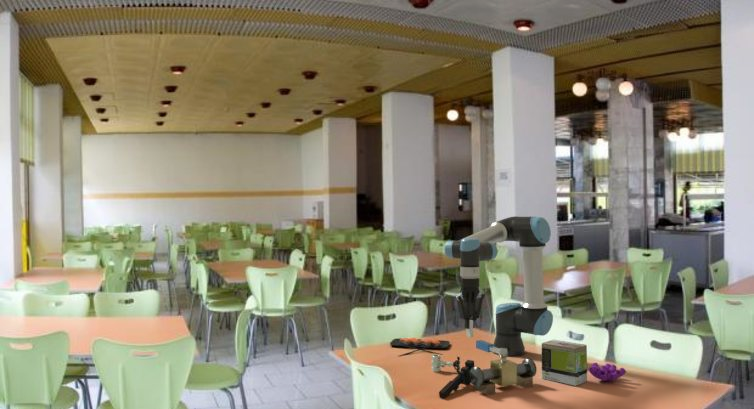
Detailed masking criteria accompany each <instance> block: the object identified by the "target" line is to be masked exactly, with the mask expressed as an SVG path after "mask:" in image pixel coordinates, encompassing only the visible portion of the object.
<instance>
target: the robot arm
mask: <svg viewBox="0 0 754 409" xmlns="http://www.w3.org/2000/svg"><path fill="white" fill-rule="evenodd" d="M551 232H552V231H551V226H550V224H549V222H548V221H547V220H546V218H544V217H541V216H510V217H505V218H503V219H500V220H498V221H495V222H492V223H491V224H490V226H489V227H487V228H484V229H482V230H480V231H478V232H475V233H472V234H471V235H468V236H466V237H463V238H462V239H459V240H449V241H448V240H447V242H446V243H445V244H444V255H445V257H447V258H450V259H453V260H460V267H459V268H460V270H459V272H460V273H459V276H460V279H459V280H460V283H459V284H460V290H459V293H458V294H457V295H456V294H455V296H454V298H455V300H456V304H457V306H458V312H459V317H460V319H461V320H463V321H464V328H465V329H466V331H465V334H466V335H465V337H467V338H474V329H475V326H476V324H475V323H476V321H477V319H479V318H480V315H481V311H482V305H483V300H484V298H485V294H483V293H481V292H480V288H479V287H480V278H479V277H480V262H486V261H487V262H488V261H492V260H495V259H496V257H498V251H499V250H498V247H497V245H496V243H503V242H516V243H517V242H519V248H520V249H521V250H522V261H523V263H522V264H523V266H522V267H523V291H524V292H523V295H524V297H523V298H524V301H523V302H522V304H521V303H520V302H506V303H501V304H497V305H496V307H495V337H494V341H493V343H492V344H493V346H494V347H496V348H499V349H500V348H506V349H507V357H517V356H522V355H524V354H526V348H525V345H524V342H523V338H522V333H523V334H528V335H529V334H530V335H534V336H542V337H543V336H546V335H547V334H548V333H549V332H550V331H551V328H552V326H553V324H554V322H553V321H554V315H553V313H552V311H551V310H548V304H546V302H545V300H544V299H545V298H544V265H543V262H544V261H543V249H545V247H546V243H549V241H550V239H551ZM492 353H493V354H496V355H498V354H497V353H494V352H492Z"/></svg>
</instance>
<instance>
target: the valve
mask: <svg viewBox="0 0 754 409" xmlns="http://www.w3.org/2000/svg"><path fill="white" fill-rule="evenodd" d="M430 365H431V372H433V373H439V372H441V368H446V367H452V366H453V368H454V370H455V371H456V373H458V372H459V371H461V366H460V365H461V357H460V356H456V360H455V361H453V362H451V361H446V360H443V359H442V360H441V354H432V355H431V361H430Z"/></svg>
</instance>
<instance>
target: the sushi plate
mask: <svg viewBox="0 0 754 409" xmlns="http://www.w3.org/2000/svg"><path fill="white" fill-rule="evenodd" d="M450 343H451V342H450V341H449V340H441V339H440V340H439V339H437V338H429V339H427V338H422V339H421V338H418V339H417V338H416V337H410V338H407V337H403V338H393V339H391V341H390V343H389V346H393V347H398V348H399V347H401V348H410V349H415V350H413V351H410V352H406V353H402V354H400V355H398V357H402V356H407V355H410V354H413V353H415V352H419V351H423V352H426V353H429V354H433V355H440V356H441V355H444V354H442V353H439V352H435V351H429V350H426V349H435V350H436V349H438V350H439V349H447V348H448V347H449V346H450Z"/></svg>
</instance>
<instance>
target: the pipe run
mask: <svg viewBox="0 0 754 409" xmlns="http://www.w3.org/2000/svg"><path fill="white" fill-rule="evenodd" d="M536 375H537V365H536V363H535V362H534V360H533V359H531V358H525V359H523V360H522V362H521V363H517V362H516V361H515V362H514V361H512V360H510V359H507V358H501V357H500V359H493V360H490V368H485V369H484V368H483V369H481V367H479V366H474V367H473V368H471V370H470V380H471V382H470V383H471V384H472V385H473V390H474V391H477V392H479V393H481V394H484V395H486V396H488V395H489V396H490V395H495V394H496V385H498V386H500V387H506V386H512V385H516V386H519V387H521V388H524V389H528V388H532V387H533V386H534V384H533V383H534V380H533V378H534V377H535V376H536Z"/></svg>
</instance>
